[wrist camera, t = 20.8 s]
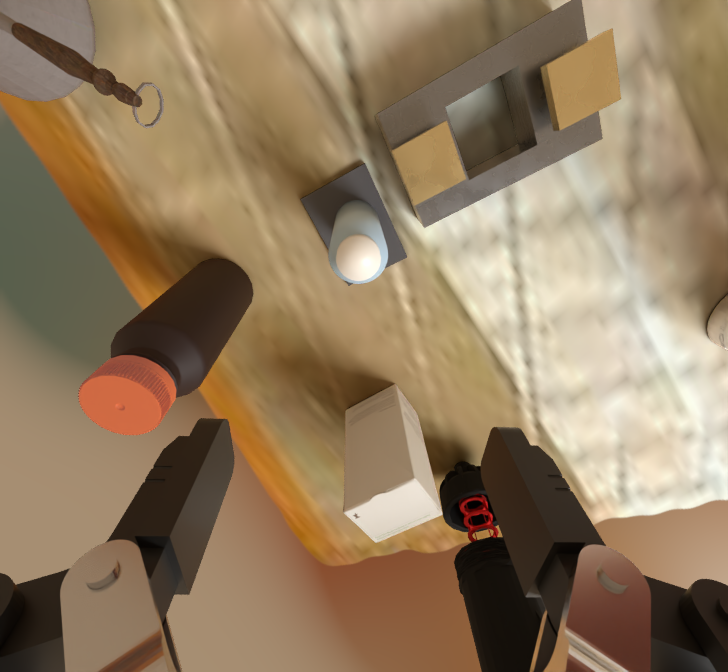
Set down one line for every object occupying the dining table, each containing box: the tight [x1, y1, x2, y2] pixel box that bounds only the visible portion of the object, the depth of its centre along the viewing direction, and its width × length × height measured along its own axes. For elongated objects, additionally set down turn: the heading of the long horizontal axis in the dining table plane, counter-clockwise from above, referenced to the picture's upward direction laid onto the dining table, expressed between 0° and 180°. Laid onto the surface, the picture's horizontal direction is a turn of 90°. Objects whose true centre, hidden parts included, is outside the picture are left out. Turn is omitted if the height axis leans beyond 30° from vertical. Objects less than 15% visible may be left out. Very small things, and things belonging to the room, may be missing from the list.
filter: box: [440, 462, 546, 672], centre depth 41 cm, size 14×9×30 cm
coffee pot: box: [0, 0, 163, 128], centre depth 23 cm, size 21×12×15 cm, turn 64°
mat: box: [301, 163, 407, 285], centre depth 37 cm, size 7×10×1 cm
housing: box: [375, 0, 602, 228], centre depth 31 cm, size 16×10×4 cm, turn 117°
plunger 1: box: [391, 121, 466, 206], centre depth 30 cm, size 4×4×5 cm
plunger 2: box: [540, 29, 621, 131], centre depth 28 cm, size 4×4×5 cm
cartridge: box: [329, 200, 388, 284], centre depth 31 cm, size 4×4×12 cm
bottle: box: [78, 259, 253, 435], centre depth 31 cm, size 7×7×20 cm
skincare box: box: [343, 384, 442, 543], centre depth 42 cm, size 8×7×16 cm
